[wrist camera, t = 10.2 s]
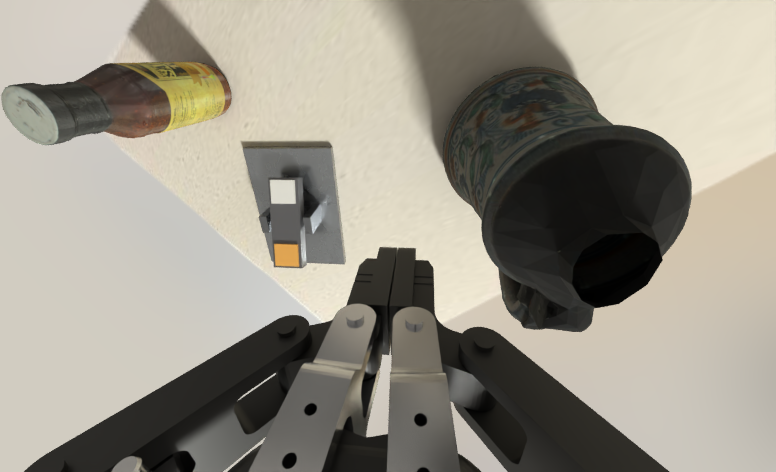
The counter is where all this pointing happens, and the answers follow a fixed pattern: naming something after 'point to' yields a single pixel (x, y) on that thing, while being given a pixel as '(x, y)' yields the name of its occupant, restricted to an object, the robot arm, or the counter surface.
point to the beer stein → (563, 195)
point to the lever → (287, 222)
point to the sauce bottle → (118, 101)
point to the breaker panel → (317, 196)
